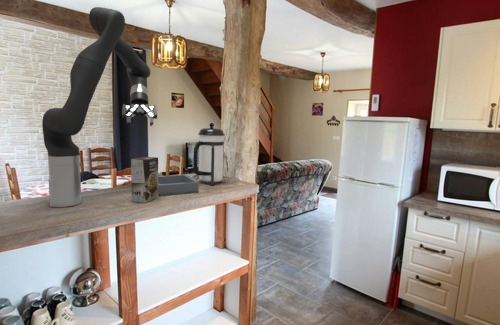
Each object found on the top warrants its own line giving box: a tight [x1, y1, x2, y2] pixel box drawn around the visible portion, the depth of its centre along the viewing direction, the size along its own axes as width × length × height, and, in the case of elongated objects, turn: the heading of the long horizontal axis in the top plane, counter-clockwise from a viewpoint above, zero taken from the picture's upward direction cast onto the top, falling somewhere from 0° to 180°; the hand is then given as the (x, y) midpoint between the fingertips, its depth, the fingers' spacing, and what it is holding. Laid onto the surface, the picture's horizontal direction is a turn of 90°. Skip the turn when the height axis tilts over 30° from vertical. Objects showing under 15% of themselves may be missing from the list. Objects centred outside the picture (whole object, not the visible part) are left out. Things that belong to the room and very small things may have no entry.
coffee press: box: [192, 122, 226, 186], centre depth 143 cm, size 17×16×30 cm
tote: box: [158, 174, 199, 197], centre depth 129 cm, size 17×19×4 cm
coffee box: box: [130, 156, 159, 204], centre depth 111 cm, size 9×6×16 cm
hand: (140, 124), depth 124 cm, fingers open, 8 cm apart
